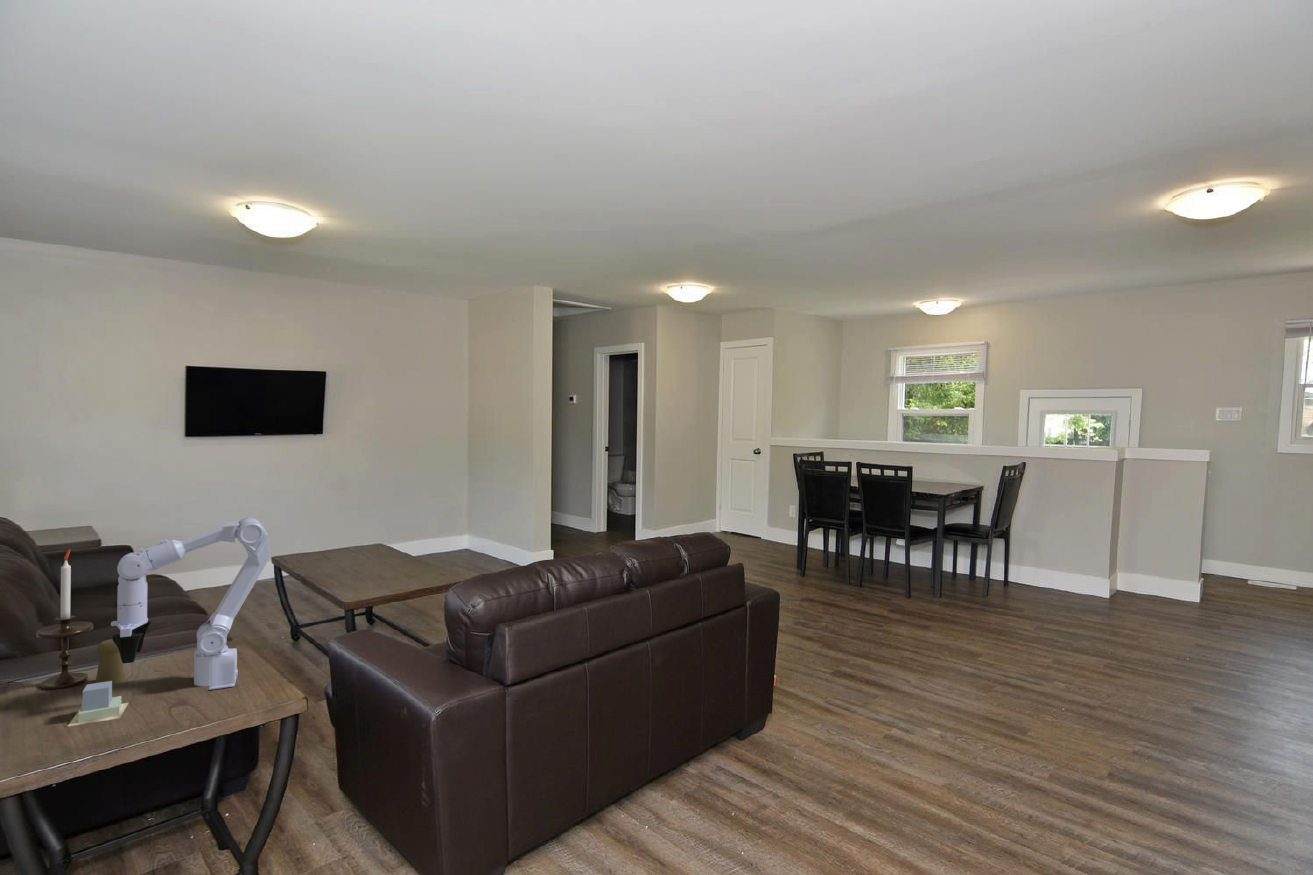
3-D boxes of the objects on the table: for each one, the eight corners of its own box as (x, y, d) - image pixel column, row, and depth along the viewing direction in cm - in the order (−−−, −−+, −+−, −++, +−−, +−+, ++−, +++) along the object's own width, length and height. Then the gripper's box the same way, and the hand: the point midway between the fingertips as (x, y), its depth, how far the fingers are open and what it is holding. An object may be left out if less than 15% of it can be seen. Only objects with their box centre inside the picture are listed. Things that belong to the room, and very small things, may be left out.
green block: (121, 704, 153) (121, 695, 153) (119, 715, 148) (119, 706, 148) (82, 711, 149) (82, 702, 149) (78, 722, 144) (78, 713, 144)
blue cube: (111, 699, 151) (112, 680, 151) (108, 706, 147) (108, 687, 147) (86, 703, 149) (86, 684, 149) (82, 711, 145) (82, 691, 145)
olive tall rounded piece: (129, 680, 170) (129, 639, 169) (100, 688, 164) (100, 645, 164) (120, 675, 173) (120, 634, 173) (91, 682, 168) (91, 640, 167)
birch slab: (128, 710, 154) (128, 702, 154) (119, 726, 146) (119, 717, 146) (79, 718, 150) (79, 709, 150) (67, 735, 142) (67, 726, 142)
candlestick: (98, 672, 174) (99, 543, 174) (84, 687, 165) (86, 551, 164) (45, 678, 170) (46, 546, 169) (28, 694, 160) (29, 554, 159)
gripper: (118, 596, 163) (118, 650, 163) (103, 612, 150) (103, 670, 150) (153, 594, 166) (153, 646, 166) (142, 608, 154) (141, 665, 154)
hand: (131, 657), depth 159 cm, fingers open, 7 cm apart
